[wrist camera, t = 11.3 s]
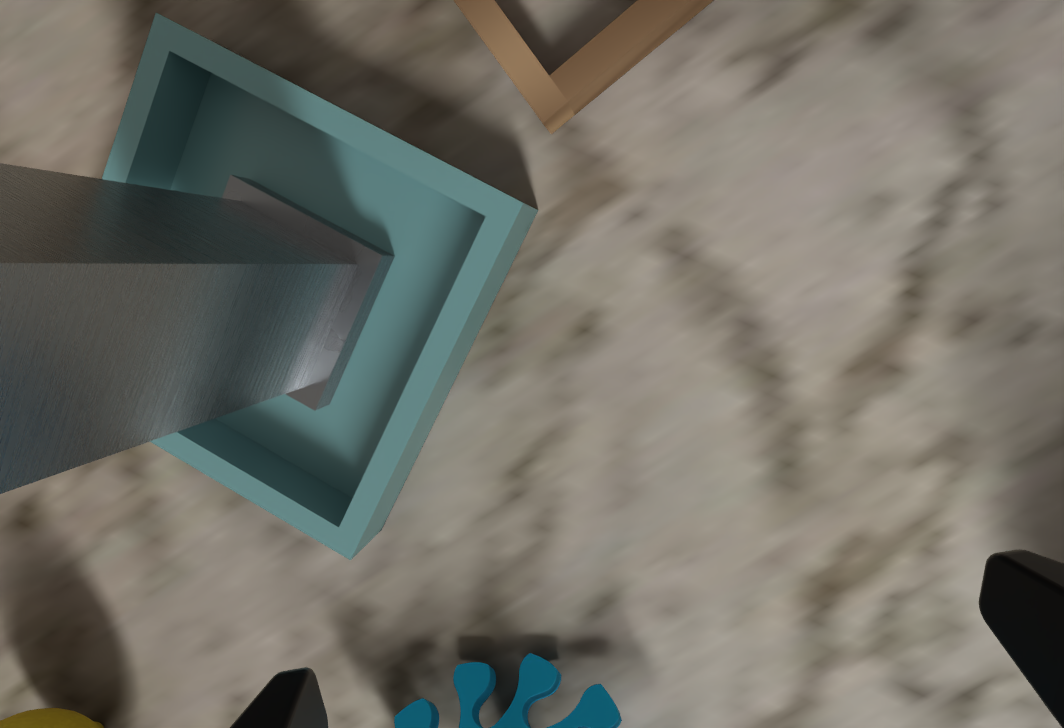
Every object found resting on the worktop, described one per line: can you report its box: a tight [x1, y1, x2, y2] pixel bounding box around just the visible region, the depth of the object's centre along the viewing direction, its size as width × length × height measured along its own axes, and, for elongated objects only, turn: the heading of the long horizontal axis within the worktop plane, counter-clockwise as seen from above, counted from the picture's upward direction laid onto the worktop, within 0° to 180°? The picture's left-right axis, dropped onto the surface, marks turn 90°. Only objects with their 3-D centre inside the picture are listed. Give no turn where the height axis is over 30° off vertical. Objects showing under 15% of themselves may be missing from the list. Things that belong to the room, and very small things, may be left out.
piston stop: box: [0, 163, 395, 494], centre depth 15 cm, size 6×6×13 cm
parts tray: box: [102, 13, 538, 560], centre depth 21 cm, size 12×12×2 cm
